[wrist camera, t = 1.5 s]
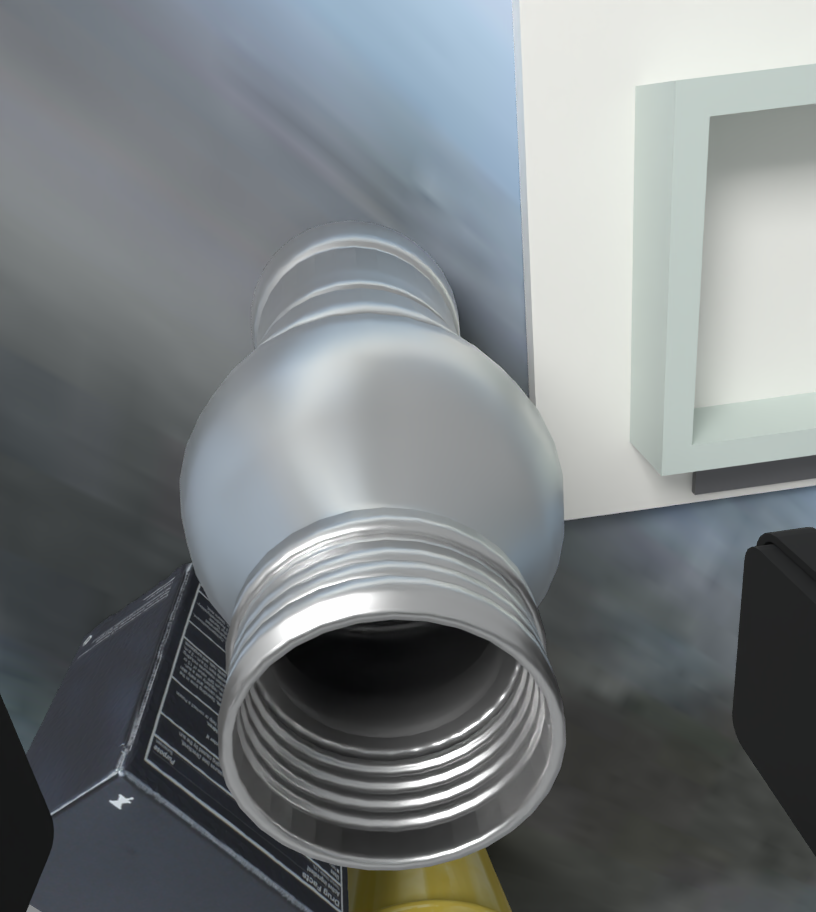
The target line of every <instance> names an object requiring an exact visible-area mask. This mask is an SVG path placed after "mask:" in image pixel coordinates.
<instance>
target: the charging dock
mask: <svg viewBox="0 0 816 912" xmlns="http://www.w3.org/2000/svg"><path fill="white" fill-rule="evenodd" d="M512 17H513V40H514V62H515V85H516V107H517V130H518V152H519V174H520V197H521V219H522V242H523V264H524V287H525V309H526V331H527V354H528V376H529V399H530V401H531V402H532V403H533V404H534V406H535V407H536V408H537V409H538V411H539V412H540V414H541V416H542V418H543V420H544V422H545V424H546V426H547V428H548V430H549V432H550V434H551V436H552V438H553V440H554V442H555V446H556V450H557V454H558V458H559V462H560V466H561V470H562V474H563V494H564V521H565V520H572V519H579V518H586V517H593V516H600V515H608V514H615V513H622V512H629V511H636V510H643V509H650V508H658V507H665V506H672V505H679V504H686V503H693V502H700V501H708V500H715V499H722V498H729V497H736V496H743V495H750V494H758V493H765V492H772V491H779V490H786V489H793V488H800V487H807V486H815V485H816V0H512Z"/></svg>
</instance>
